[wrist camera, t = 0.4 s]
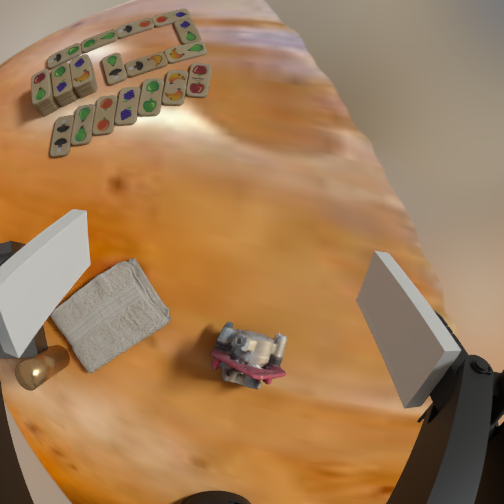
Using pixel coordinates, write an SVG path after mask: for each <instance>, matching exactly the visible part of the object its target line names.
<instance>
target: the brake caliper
mask: <svg viewBox="0 0 504 504" xmlns="http://www.w3.org/2000/svg"><path fill="white" fill-rule="evenodd" d="M286 341H287V337H286V336H285V335H281V334H280V333H277V334H276V336H275V339H273V338H269V337H267V336H266V335H263V334H260V333H256V332H253V331H248V330H245V331H242V330H240V329H236V330H234V329H233V323H232V322H227V323H226V325H225V326H224V327H223V328H222V331H221V333H220V335H219V337H218V339H217V343H216V345H215V347H214V349H213V351H212V352H211V355H212V356H213V357H214V360H213V363H212V366H211V368H212V369H213V370H216V369H218V368H219V367H220V366H222V375H221V377H222V379H223V381H227V382H233V383H237V384H240V385H243V386H246V387H249V388H253V389H259V388H260V386H261V382H260V380H263V382H265V383H266V384H270V383H271V381H272V378H277V377H283V376H285V375H286V372H285V371H283V370H282V369H281V368H280V364H281V361H282V357H283V352H284V349H285V345H286Z"/></svg>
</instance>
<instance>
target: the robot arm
mask: <svg viewBox="0 0 504 504" xmlns="http://www.w3.org/2000/svg"><path fill="white" fill-rule="evenodd" d="M89 266H90V254H89V243H88V229H87V211H84V210H75V209H73V210H71V211H70V212H68V213H67V214H66V215H64V216H63V217H61V218H60V219H59V220H57V221H56V222H55V223H53V224H52V225H51V226H49V227H48V228H47V229H45V230H44V231H43V232H41V233H40V234H39V235H37V236H36V237H35V238H34V239H32V240H31V241H30V242H29V243H27V244H26V245H25V246H24V247H22V248H21V249H20V250H19V251H18V252H16V253H15V254H14V255H13V256H11V257H9V258H7V259H5V260H4V261H3V262H2V263H1V264H0V344H1V346H2V348H3V350H4V352H5V353H7V354H10V355H12V356H15V357H17V358H20V356H21V355H22V353H23V352H24V351H25V349H26V348H27V346H28V345H29V343H30V342H31V340H32V339H33V338H34V336H35V335H36V333H37V332H38V330H39V329H40V328H41V326H42V325H43V324H44V322H45V321H46V320H47V318H48V317H49V316H50V314H51V313H52V312H53V310H54V309H55V308H56V306H57V305H58V304H59V302H60V301H61V300H62V299H63V297H64V296H65V295H66V294H67V292H68V291H69V290H70V289H71V287H72V286H73V285H74V284H75V282H76V281H77V280H78V279H79V277H80V276H81V275H82V274H83V273H84V271H85V270H86V269H87V268H88V267H89ZM356 301H357V303H358V305H359V307H360V309H361V311H362V313H363V315H364V317H365V320H366V322H367V324H368V326H369V328H370V330H371V332H372V334H373V337H374V339H375V341H376V343H377V345H378V348H379V350H380V352H381V354H382V357H383V359H384V361H385V363H386V366H387V368H388V370H389V373H390V375H391V377H392V380H393V382H394V384H395V387H396V389H397V392H398V394H399V397H400V399H401V401H402V404H403V406H404V408H411V407H419V406H421V405H422V404H423V403H424V402H425V400H426V399H427V398H428V397H429V395H430V397H431V399H432V401H433V403H432V404H431V405H430V406H429V408H428V409H427V410H426V411H425V412H424V414H423V415H422V416H421V417H420V418H419V420H418V421H417V422H419V423H420V422H421V421H422V419H424V418H425V419H424V421H423V424H422V427H421V430H420V432H419V435H418V437H417V440H416V442H415V445H414V447H413V450H412V452H411V454H410V457H409V459H408V461H407V463H406V466H405V468H404V470H403V472H402V474H401V476H400V478H399V480H398V482H397V484H396V486H395V488H394V490H393V492H392V494H391V496H390V498H389V500H388V502H387V503H386V504H504V422H503V423H502V424H501V425H500V426H499V425H498V420H499V419H500V418H501V417H502V415H504V370H503V372H502V373H497V372H493V370H492V368H491V366H490V365H489V364H488V362H487V361H485V360H484V359H483V358H481V357H479V356H477V355H468V354H467V352H466V351H465V349H464V348H463V346H462V345H461V343H460V342H459V340H458V339H457V337H456V336H455V335H454V334H453V332H452V330H451V329H450V327H448V325H447V323H446V322H445V321H444V319H443V318H442V317H441V316H440V315H439V314H438V313H437V312H436V311H434V310H433V309H432V308H431V306H430V305H429V304H428V302H427V301H426V300H425V298H424V297H423V296H422V294H421V293H420V292H419V291H418V289H417V288H416V287H415V285H414V284H413V283H412V282H411V280H410V279H409V278H408V276H407V275H406V274H405V273H404V271H403V270H402V269H401V268H400V267H399V265H398V264H397V263H396V262H395V260H394V259H393V258H392V257H391V256H390V254H389V253H385V252H379V251H374V254H373V257H372V259H371V262H370V265H369V268H368V271H367V274H366V276H365V279H364V282H363V284H362V287H361V290H360V292H359V295H358V297H357V300H356ZM0 504H34V503H33V501H32V498H31V496H30V493H29V491H28V488H27V485H26V483H25V480H24V477H23V474H22V471H21V468H20V465H19V462H18V459H17V455H16V452H15V449H14V445H13V442H12V438H11V434H10V429H9V425H8V421H7V416H6V411H5V406H4V401H3V395H2V389H1V382H0ZM181 504H251V503H250V502H249V501H248V500H247V499H245V498H244V497H242V496H240V495H237V494H234V493H230V492H224V491H208V492H202V493H198V494H195V495H193V496H191V497H189V498H187V499H186V500H184V501H183V502H182V503H181Z"/></svg>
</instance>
